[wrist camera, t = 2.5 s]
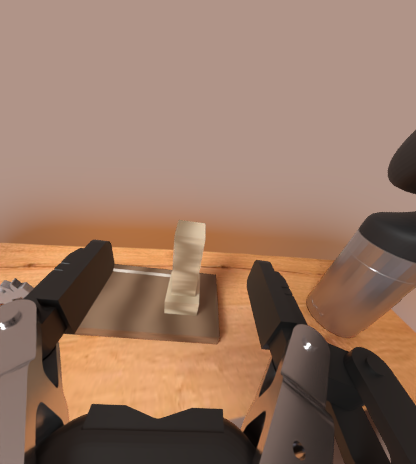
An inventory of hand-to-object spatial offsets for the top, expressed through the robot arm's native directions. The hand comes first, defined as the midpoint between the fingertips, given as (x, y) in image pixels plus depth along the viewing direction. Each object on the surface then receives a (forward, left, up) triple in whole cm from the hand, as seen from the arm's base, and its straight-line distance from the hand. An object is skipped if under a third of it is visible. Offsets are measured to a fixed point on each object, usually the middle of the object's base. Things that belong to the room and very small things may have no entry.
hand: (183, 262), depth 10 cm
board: (+7, -11, -21) cm, 25 cm away
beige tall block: (0, -11, -19) cm, 22 cm away
